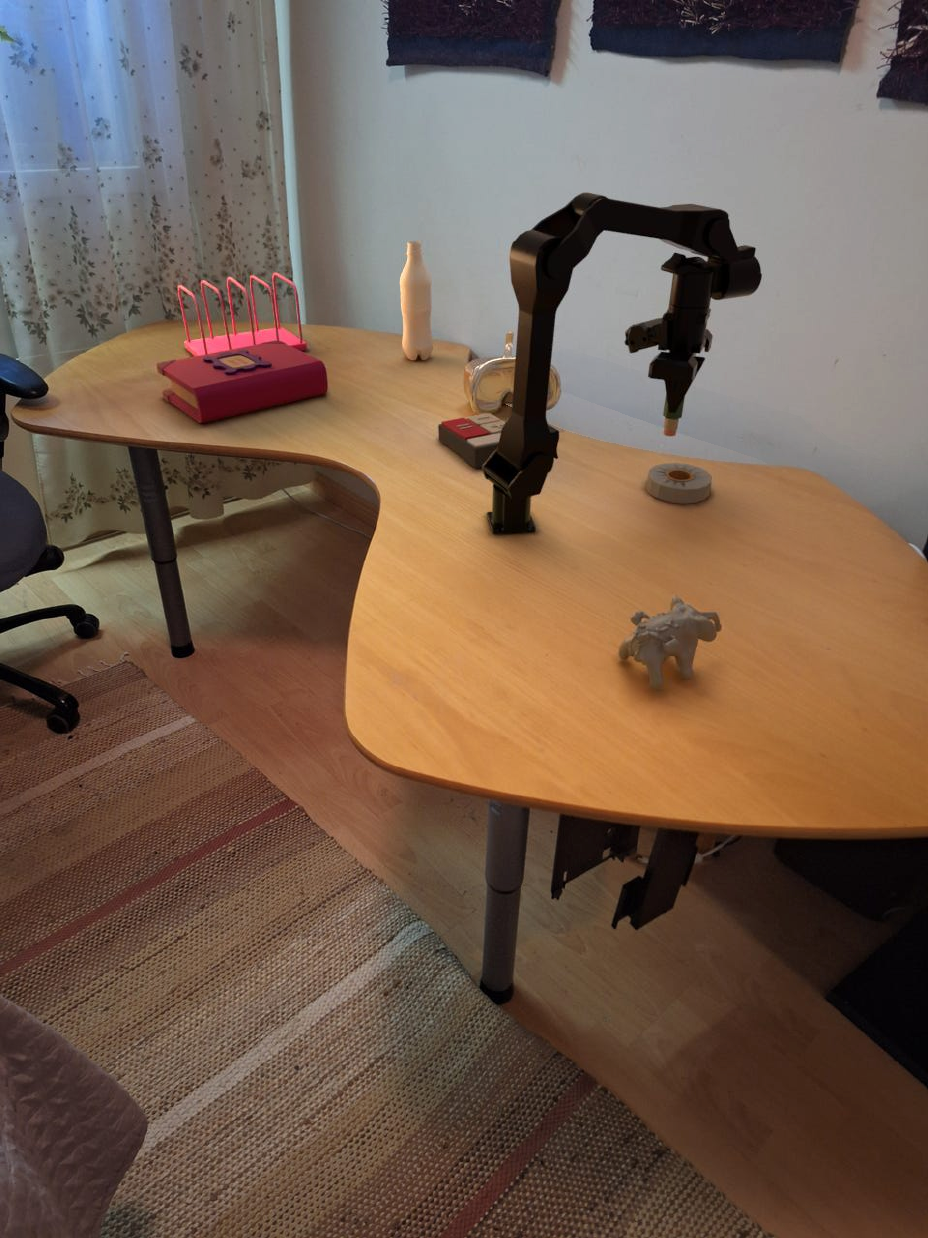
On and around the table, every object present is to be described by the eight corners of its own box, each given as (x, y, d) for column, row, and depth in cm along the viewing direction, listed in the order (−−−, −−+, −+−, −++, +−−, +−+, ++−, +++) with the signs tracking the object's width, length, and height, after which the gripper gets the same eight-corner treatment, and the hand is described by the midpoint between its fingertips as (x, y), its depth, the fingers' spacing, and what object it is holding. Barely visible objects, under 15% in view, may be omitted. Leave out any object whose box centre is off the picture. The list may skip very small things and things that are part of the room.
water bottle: (398, 355, 190) (393, 240, 176) (426, 351, 193) (423, 238, 179) (409, 363, 185) (404, 246, 171) (438, 359, 188) (435, 243, 173)
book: (329, 395, 167) (326, 359, 163) (202, 426, 153) (194, 387, 149) (282, 370, 181) (277, 336, 177) (161, 397, 167) (153, 360, 162)
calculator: (489, 410, 150) (531, 433, 138) (490, 432, 152) (530, 457, 141) (436, 420, 146) (475, 444, 134) (437, 442, 148) (475, 469, 136)
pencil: (677, 438, 125) (688, 364, 118) (658, 435, 125) (669, 362, 119) (680, 432, 126) (691, 359, 120) (662, 430, 127) (672, 357, 121)
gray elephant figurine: (603, 667, 92) (610, 612, 88) (664, 625, 99) (674, 572, 94) (671, 705, 86) (682, 648, 82) (731, 659, 93) (744, 604, 89)
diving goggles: (470, 422, 155) (470, 346, 147) (459, 402, 164) (458, 330, 156) (560, 415, 158) (564, 340, 149) (544, 395, 167) (547, 324, 159)
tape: (718, 501, 127) (721, 486, 125) (657, 505, 126) (660, 490, 124) (695, 475, 135) (698, 460, 133) (638, 478, 134) (640, 464, 132)
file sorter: (307, 350, 194) (300, 281, 185) (205, 367, 183) (191, 295, 174) (282, 333, 206) (274, 268, 197) (185, 348, 196) (171, 280, 187)
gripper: (647, 285, 124) (635, 384, 133) (618, 314, 110) (607, 422, 119) (720, 291, 121) (703, 392, 130) (700, 321, 107) (683, 433, 116)
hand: (673, 409), depth 124 cm, fingers closed on pencil, 2 cm apart
